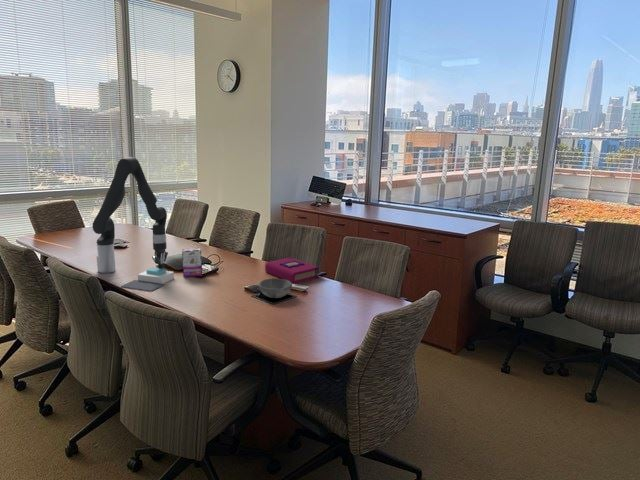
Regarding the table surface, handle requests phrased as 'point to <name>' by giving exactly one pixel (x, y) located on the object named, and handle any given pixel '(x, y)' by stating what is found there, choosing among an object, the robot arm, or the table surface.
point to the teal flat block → (156, 271)
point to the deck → (156, 277)
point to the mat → (142, 285)
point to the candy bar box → (192, 262)
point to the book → (292, 270)
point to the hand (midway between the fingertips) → (160, 269)
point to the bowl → (275, 287)
